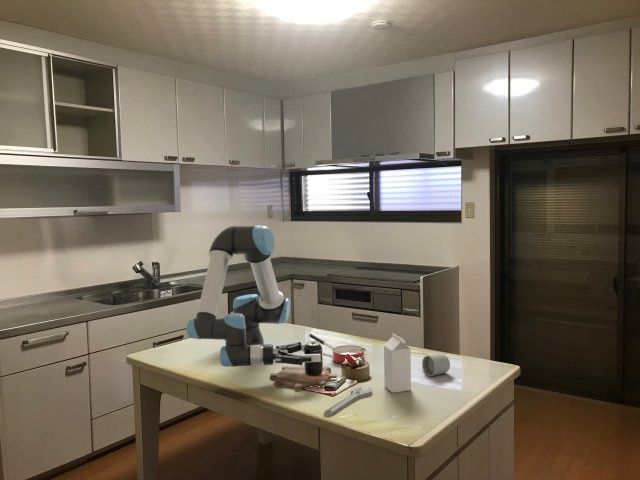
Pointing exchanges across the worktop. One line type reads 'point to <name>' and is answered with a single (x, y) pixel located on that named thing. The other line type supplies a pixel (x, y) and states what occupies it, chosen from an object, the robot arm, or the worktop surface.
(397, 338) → the milk carton
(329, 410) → the adjustable wrench
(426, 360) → the ceramic mug
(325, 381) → the sprocket plate
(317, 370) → the beverage can
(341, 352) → the red saucepan
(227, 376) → the worktop surface
